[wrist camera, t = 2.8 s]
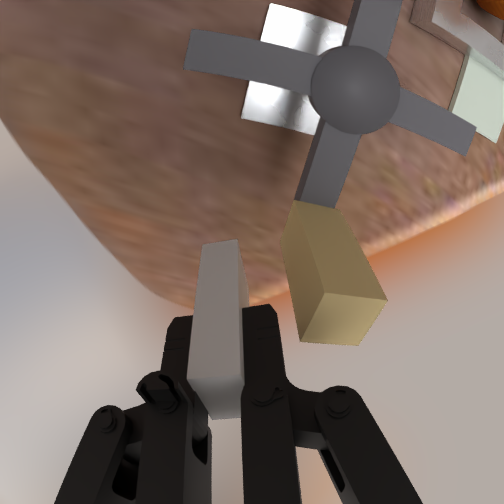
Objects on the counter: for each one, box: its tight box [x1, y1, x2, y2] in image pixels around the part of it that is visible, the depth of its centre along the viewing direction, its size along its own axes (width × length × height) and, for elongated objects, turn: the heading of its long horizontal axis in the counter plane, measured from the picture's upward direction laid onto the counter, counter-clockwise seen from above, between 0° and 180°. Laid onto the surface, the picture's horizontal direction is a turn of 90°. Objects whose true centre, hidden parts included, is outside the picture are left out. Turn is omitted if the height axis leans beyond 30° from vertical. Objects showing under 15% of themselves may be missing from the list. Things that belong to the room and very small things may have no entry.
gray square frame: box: [410, 0, 504, 81], centre depth 13 cm, size 11×11×3 cm
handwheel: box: [183, 0, 477, 346], centre depth 10 cm, size 16×14×8 cm
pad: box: [448, 55, 504, 143], centre depth 19 cm, size 6×6×1 cm
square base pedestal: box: [241, 4, 347, 135], centre depth 16 cm, size 8×8×7 cm
